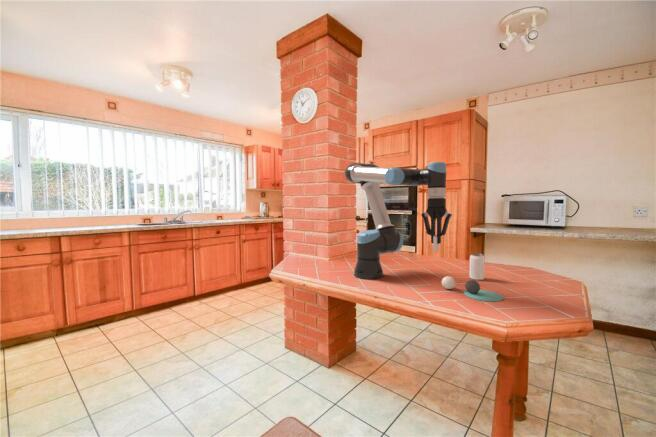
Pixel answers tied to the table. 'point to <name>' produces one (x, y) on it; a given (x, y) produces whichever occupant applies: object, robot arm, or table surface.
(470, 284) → the object ball
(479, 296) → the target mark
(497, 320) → the table surface
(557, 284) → the table surface
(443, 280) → the cue ball
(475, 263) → the can
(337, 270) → the table surface
